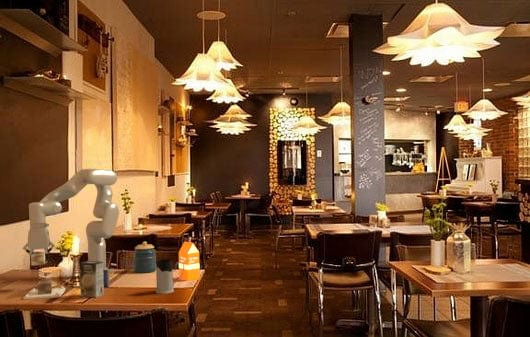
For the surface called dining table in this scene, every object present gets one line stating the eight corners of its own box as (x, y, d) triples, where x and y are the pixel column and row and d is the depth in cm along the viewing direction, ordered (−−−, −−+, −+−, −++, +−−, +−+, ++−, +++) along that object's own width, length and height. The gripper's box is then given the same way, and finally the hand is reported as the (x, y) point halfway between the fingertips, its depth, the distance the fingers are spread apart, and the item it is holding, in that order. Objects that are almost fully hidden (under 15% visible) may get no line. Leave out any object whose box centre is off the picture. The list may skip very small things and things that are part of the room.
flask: (110, 286, 274) (110, 265, 274) (106, 287, 271) (106, 266, 271) (96, 285, 277) (95, 264, 277) (92, 286, 275) (91, 265, 275)
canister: (138, 269, 321) (138, 240, 321) (159, 269, 319) (158, 239, 319) (130, 273, 308) (129, 242, 308) (151, 273, 306) (151, 242, 306)
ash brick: (47, 261, 276) (46, 252, 276) (44, 264, 268) (43, 254, 268) (35, 262, 275) (34, 252, 274) (31, 265, 267) (30, 255, 267)
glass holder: (154, 290, 261) (153, 260, 261) (182, 287, 267) (181, 257, 267) (157, 294, 253) (157, 262, 253) (187, 291, 259) (186, 260, 259)
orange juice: (187, 281, 282) (187, 243, 282) (178, 278, 289) (178, 242, 289) (200, 279, 287) (199, 242, 287) (191, 276, 294) (190, 240, 294)
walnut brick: (52, 290, 262) (52, 280, 262) (51, 293, 255) (50, 283, 255) (39, 291, 261) (39, 281, 261) (37, 294, 253) (37, 284, 253)
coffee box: (79, 296, 252) (79, 262, 252) (88, 293, 258) (87, 260, 258) (96, 297, 249) (95, 263, 249) (104, 294, 255) (103, 261, 255)
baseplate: (65, 290, 267) (65, 286, 267) (59, 297, 251) (59, 293, 251) (31, 292, 264) (31, 288, 264) (23, 299, 248) (23, 295, 248)
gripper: (57, 224, 277) (58, 259, 277) (21, 226, 274) (23, 261, 274) (54, 226, 269) (56, 261, 270) (17, 228, 266) (19, 264, 267)
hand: (39, 261), depth 272 cm, fingers closed on ash brick, 6 cm apart
